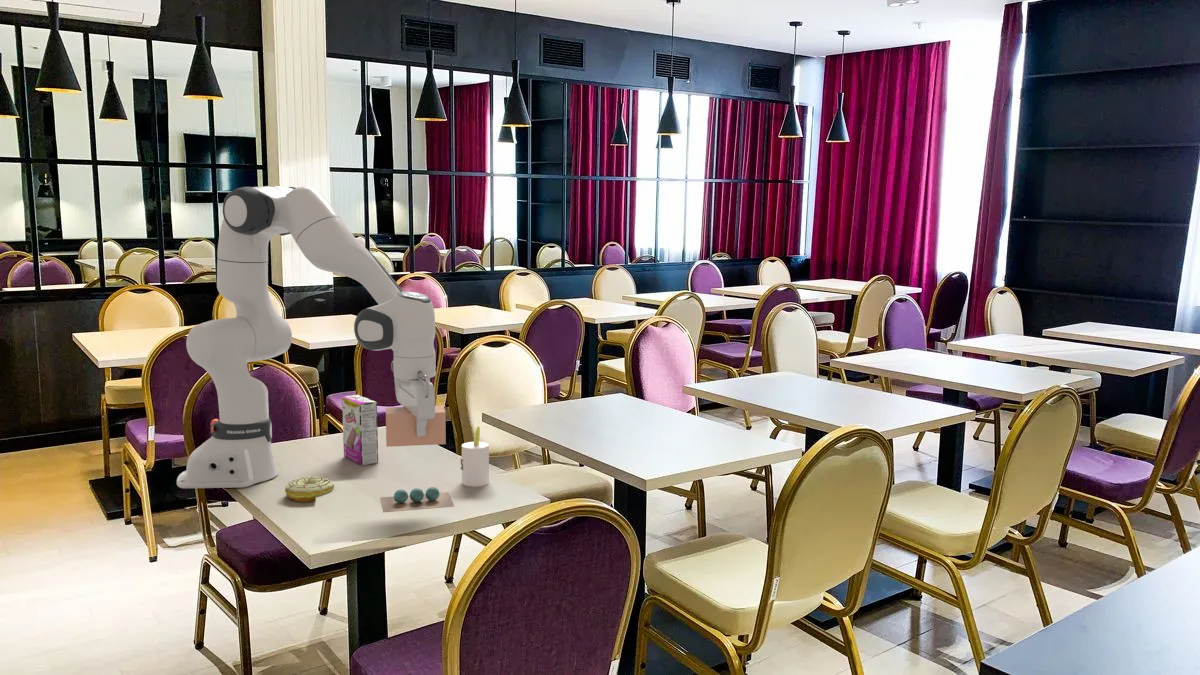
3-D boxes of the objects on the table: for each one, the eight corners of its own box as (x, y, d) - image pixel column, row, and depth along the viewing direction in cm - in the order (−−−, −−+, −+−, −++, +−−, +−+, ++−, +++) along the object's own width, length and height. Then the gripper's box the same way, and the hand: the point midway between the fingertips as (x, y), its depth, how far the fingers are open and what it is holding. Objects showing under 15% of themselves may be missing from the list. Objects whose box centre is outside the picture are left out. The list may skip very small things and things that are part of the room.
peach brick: (386, 446, 188) (385, 414, 187) (386, 438, 194) (385, 407, 194) (445, 444, 191) (445, 412, 190) (443, 436, 197) (443, 405, 196)
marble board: (383, 518, 188) (382, 498, 187) (380, 504, 197) (380, 484, 197) (454, 512, 192) (454, 492, 192) (448, 498, 202) (448, 479, 201)
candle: (458, 485, 211) (458, 424, 209) (485, 483, 213) (485, 422, 211) (464, 493, 205) (463, 430, 203) (491, 491, 208) (491, 428, 206)
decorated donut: (339, 489, 208) (339, 473, 208) (327, 504, 198) (327, 487, 197) (294, 489, 208) (293, 473, 207) (279, 503, 197) (279, 487, 196)
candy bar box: (342, 457, 234) (340, 396, 232) (360, 454, 237) (358, 394, 235) (361, 466, 226) (359, 403, 223) (379, 463, 229) (378, 401, 227)
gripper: (442, 375, 183) (442, 441, 185) (417, 359, 201) (418, 419, 203) (412, 377, 180) (412, 444, 182) (389, 361, 198) (390, 422, 200)
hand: (415, 431), depth 192 cm, fingers closed on peach brick, 7 cm apart
